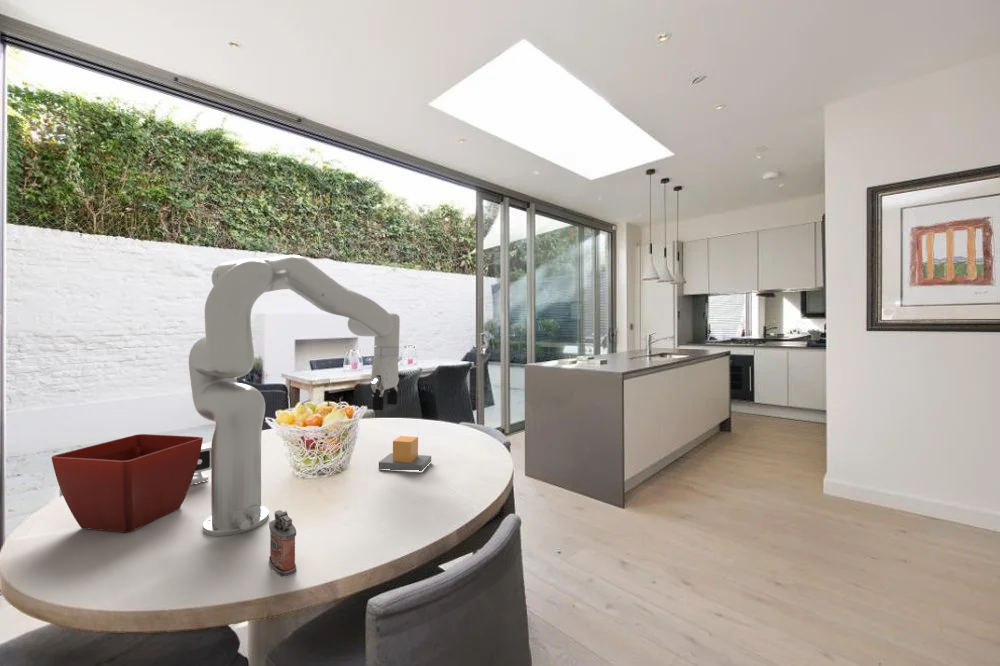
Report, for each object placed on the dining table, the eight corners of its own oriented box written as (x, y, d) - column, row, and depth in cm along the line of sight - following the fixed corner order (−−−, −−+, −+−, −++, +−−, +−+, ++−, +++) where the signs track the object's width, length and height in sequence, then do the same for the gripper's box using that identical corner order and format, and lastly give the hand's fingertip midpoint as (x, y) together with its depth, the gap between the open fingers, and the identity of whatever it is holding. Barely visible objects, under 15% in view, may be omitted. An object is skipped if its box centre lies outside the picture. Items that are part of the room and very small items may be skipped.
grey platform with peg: (431, 463, 135) (431, 440, 134) (421, 473, 126) (421, 448, 126) (390, 460, 137) (391, 438, 137) (378, 470, 128) (378, 446, 128)
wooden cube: (417, 456, 134) (418, 437, 134) (410, 462, 128) (411, 442, 128) (400, 455, 135) (400, 435, 135) (392, 461, 129) (392, 441, 129)
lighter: (265, 561, 79) (265, 509, 79) (283, 554, 81) (284, 504, 81) (280, 579, 73) (280, 524, 73) (300, 571, 76) (300, 517, 76)
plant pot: (139, 497, 106) (139, 432, 106) (205, 503, 103) (205, 436, 103) (48, 535, 87) (47, 456, 87) (126, 543, 84) (126, 461, 84)
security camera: (185, 489, 112) (185, 452, 112) (177, 482, 116) (177, 447, 116) (212, 482, 117) (212, 447, 117) (203, 476, 121) (203, 442, 121)
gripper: (387, 350, 138) (386, 401, 139) (361, 353, 121) (360, 411, 122) (408, 351, 137) (407, 402, 137) (385, 354, 120) (383, 412, 120)
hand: (385, 406), depth 129 cm, fingers open, 9 cm apart
